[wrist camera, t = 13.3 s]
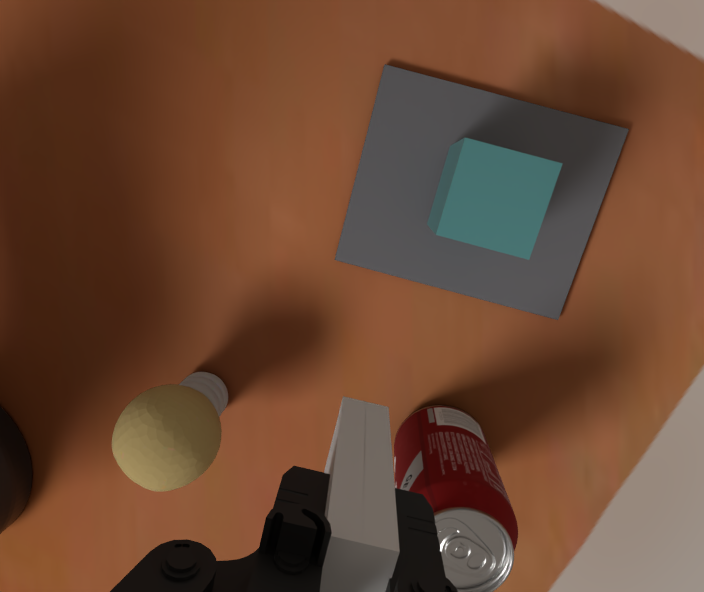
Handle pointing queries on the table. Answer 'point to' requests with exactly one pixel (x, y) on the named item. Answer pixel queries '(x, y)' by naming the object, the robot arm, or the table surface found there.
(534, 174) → the teal block
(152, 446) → the light bulb
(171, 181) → the table surface
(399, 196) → the grey square base plate
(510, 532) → the soda can
